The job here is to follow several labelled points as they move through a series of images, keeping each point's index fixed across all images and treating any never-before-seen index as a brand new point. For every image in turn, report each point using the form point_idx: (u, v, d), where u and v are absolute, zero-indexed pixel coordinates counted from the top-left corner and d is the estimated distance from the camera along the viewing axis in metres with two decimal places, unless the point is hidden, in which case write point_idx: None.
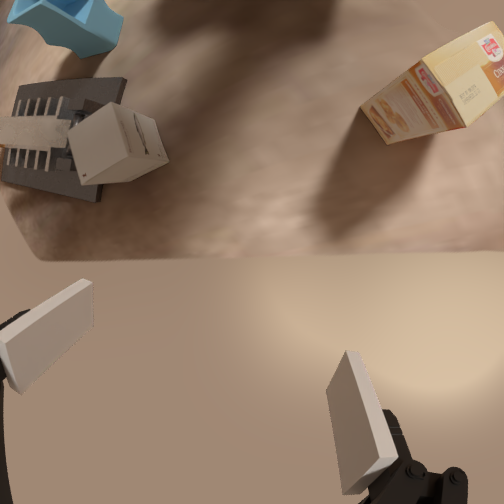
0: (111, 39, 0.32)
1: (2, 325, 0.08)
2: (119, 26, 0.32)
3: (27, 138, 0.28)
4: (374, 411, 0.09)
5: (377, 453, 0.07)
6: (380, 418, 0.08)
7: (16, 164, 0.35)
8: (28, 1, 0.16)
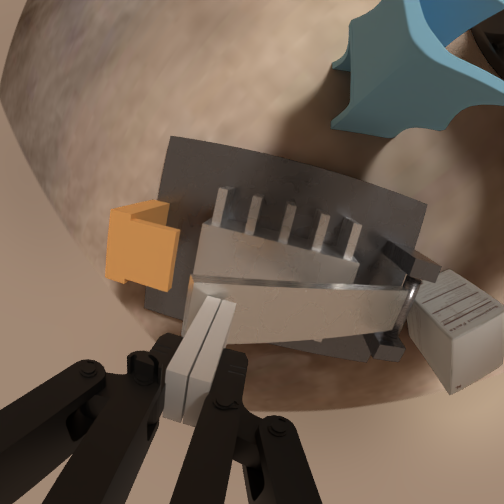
0: None
1: None
2: None
3: (346, 326, 0.20)
4: (213, 344, 0.11)
5: (191, 373, 0.09)
6: (215, 350, 0.11)
7: None
8: None
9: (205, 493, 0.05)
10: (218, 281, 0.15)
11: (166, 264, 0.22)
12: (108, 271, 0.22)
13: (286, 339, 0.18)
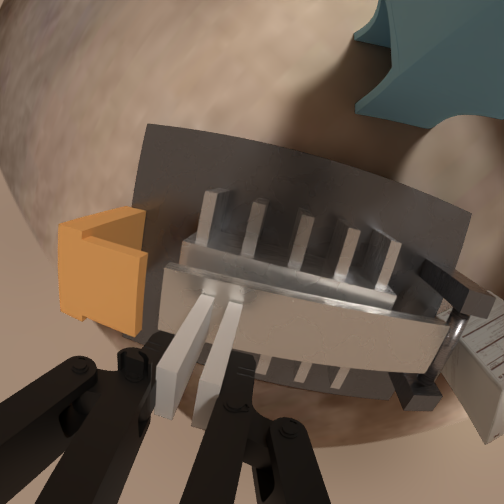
0: None
1: None
2: None
3: (355, 356, 0.16)
4: (222, 346, 0.11)
5: (201, 376, 0.09)
6: (224, 352, 0.11)
7: None
8: None
9: (214, 496, 0.05)
10: (191, 272, 0.15)
11: (130, 301, 0.15)
12: (63, 304, 0.16)
13: (270, 353, 0.16)
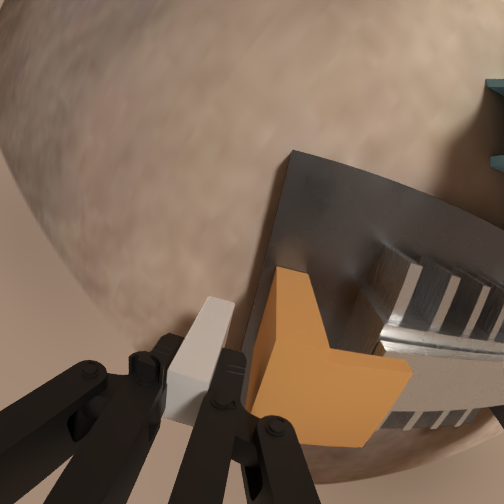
0: None
1: None
2: None
3: (493, 397, 0.13)
4: (212, 343, 0.11)
5: (189, 373, 0.09)
6: (214, 350, 0.11)
7: None
8: None
9: (203, 493, 0.05)
10: (407, 350, 0.12)
11: (377, 417, 0.10)
12: None
13: (443, 408, 0.13)
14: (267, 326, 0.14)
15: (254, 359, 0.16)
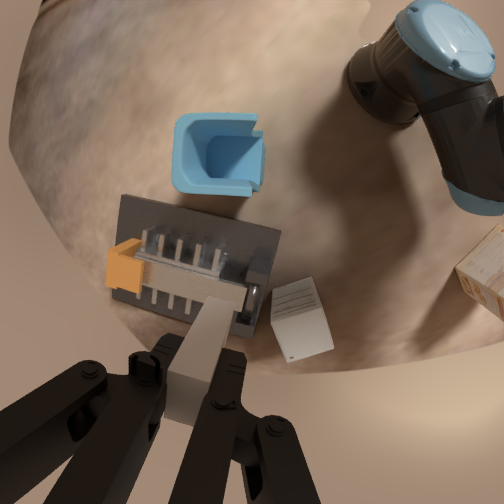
0: (261, 179, 0.43)
1: None
2: (263, 159, 0.43)
3: (200, 295, 0.42)
4: (212, 344, 0.11)
5: (189, 373, 0.09)
6: (214, 350, 0.11)
7: (154, 302, 0.46)
8: (190, 147, 0.27)
9: (203, 493, 0.05)
10: (139, 258, 0.42)
11: (137, 279, 0.40)
12: (107, 282, 0.41)
13: (167, 290, 0.43)
14: None
15: None
